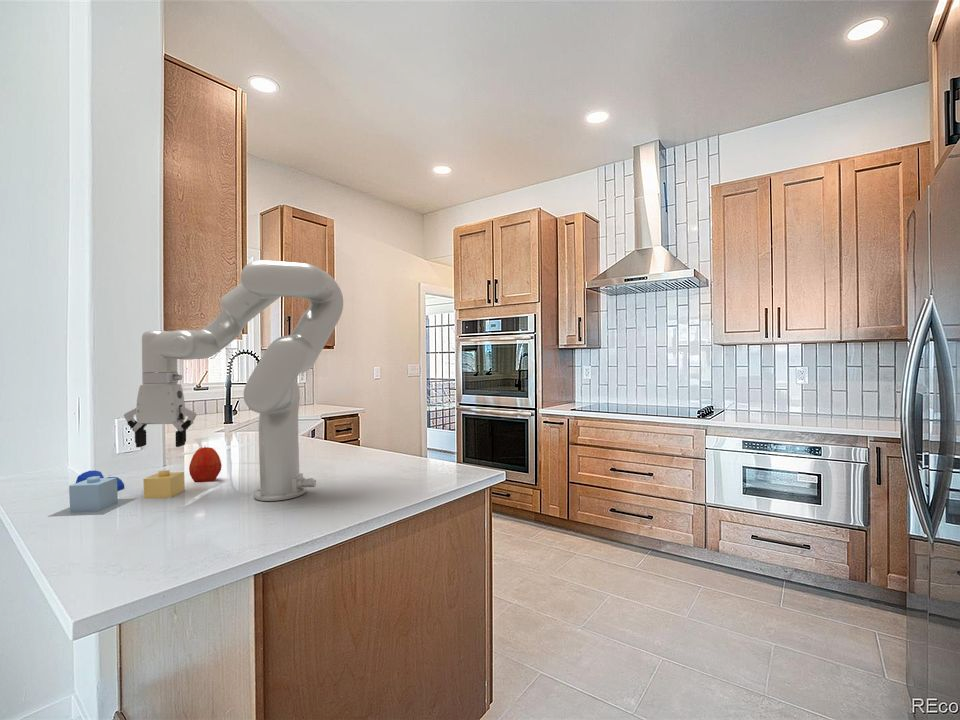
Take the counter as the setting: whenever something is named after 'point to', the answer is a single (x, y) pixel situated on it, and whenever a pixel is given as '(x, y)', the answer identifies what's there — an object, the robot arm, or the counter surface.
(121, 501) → the baseplate
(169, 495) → the ochre brick
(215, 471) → the apple
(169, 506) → the counter surface
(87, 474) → the toy
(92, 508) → the blue brick
